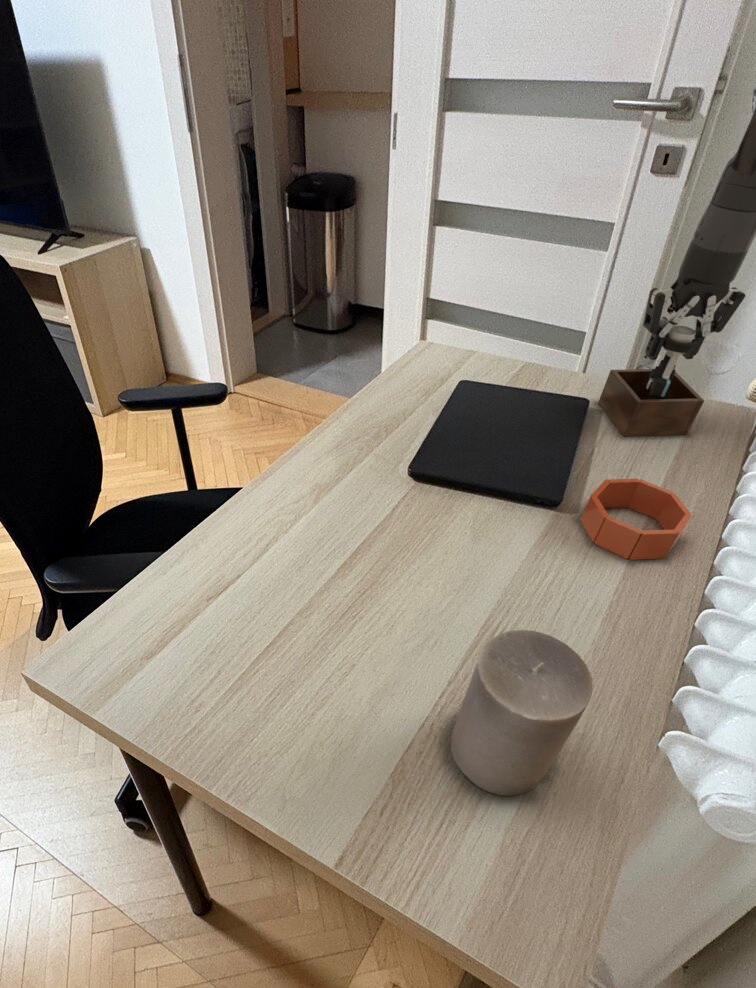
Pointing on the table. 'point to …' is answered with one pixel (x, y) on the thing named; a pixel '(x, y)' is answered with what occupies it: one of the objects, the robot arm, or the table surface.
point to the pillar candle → (519, 711)
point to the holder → (648, 404)
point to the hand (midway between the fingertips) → (669, 356)
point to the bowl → (643, 500)
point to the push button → (671, 358)
